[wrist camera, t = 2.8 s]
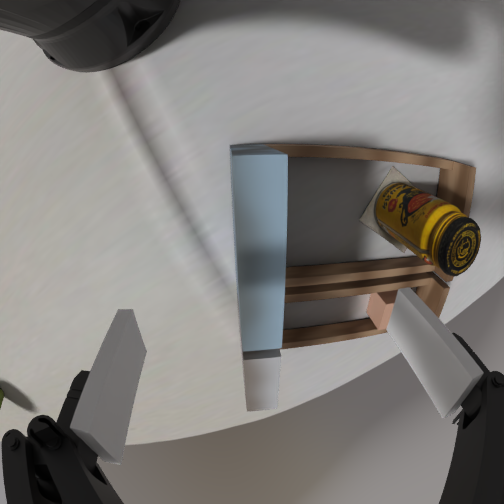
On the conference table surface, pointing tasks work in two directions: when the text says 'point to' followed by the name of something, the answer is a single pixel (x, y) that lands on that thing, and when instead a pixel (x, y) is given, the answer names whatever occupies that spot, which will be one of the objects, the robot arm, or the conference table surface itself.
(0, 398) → the plant pot
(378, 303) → the clay block
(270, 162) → the wooden shelf
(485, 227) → the conference table surface
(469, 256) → the condiment
